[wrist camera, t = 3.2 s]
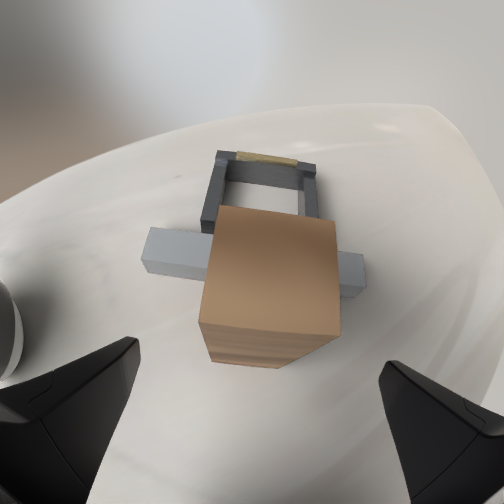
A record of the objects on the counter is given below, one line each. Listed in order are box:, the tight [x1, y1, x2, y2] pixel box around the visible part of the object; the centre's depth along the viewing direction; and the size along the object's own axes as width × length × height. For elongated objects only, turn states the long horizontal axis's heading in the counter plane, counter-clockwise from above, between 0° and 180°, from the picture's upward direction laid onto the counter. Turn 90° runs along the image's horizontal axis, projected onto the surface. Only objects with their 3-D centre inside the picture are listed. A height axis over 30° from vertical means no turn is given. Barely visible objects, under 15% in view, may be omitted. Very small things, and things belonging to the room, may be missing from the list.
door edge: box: [141, 227, 366, 298], centre depth 22 cm, size 3×18×2 cm, turn 85°
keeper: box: [200, 150, 318, 235], centre depth 25 cm, size 8×10×3 cm
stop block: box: [198, 205, 341, 369], centre depth 15 cm, size 5×5×12 cm
